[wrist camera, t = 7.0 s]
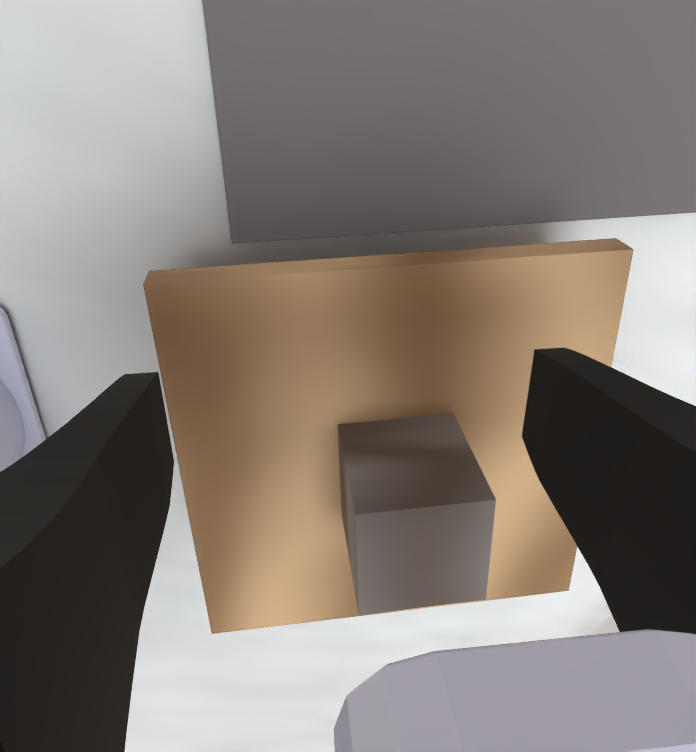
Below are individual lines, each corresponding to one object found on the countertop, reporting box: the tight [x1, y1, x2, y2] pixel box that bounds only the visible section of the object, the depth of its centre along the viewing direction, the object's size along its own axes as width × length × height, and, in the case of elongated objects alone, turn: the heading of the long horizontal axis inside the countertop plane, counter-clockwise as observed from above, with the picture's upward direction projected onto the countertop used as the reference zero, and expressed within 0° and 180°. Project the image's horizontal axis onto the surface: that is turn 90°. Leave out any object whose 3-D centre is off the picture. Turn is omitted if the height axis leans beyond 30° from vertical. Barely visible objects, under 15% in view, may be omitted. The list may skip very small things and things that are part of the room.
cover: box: [143, 238, 633, 634], centre depth 19 cm, size 13×13×5 cm
